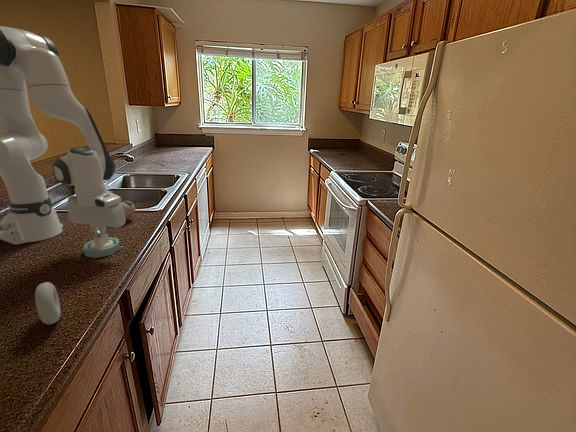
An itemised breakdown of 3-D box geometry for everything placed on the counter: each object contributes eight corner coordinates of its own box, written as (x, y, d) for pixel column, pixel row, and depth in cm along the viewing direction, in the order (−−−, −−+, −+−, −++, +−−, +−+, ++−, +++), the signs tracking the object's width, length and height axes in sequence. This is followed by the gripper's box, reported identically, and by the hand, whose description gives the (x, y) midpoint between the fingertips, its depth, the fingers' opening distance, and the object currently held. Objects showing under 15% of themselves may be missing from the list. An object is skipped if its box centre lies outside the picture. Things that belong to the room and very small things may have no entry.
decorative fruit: (109, 224, 133) (105, 201, 129) (117, 217, 140) (113, 196, 137) (133, 223, 134) (129, 201, 130) (139, 216, 141) (135, 195, 138)
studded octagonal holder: (77, 255, 107) (75, 248, 106) (102, 242, 117) (101, 235, 116) (103, 259, 104) (102, 252, 104) (127, 245, 114) (125, 239, 113)
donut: (46, 311, 79) (35, 276, 75) (62, 307, 81) (53, 273, 77) (42, 335, 71) (31, 298, 68) (61, 330, 73) (50, 293, 69)
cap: (86, 250, 108) (83, 238, 106) (102, 242, 114) (99, 230, 113) (103, 253, 106) (101, 241, 105) (118, 244, 113) (116, 233, 111)
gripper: (58, 197, 103) (68, 236, 108) (110, 203, 99) (118, 243, 104) (75, 192, 109) (83, 229, 114) (125, 197, 104) (131, 235, 109)
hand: (100, 235), depth 109 cm, fingers closed, pressing on cap
